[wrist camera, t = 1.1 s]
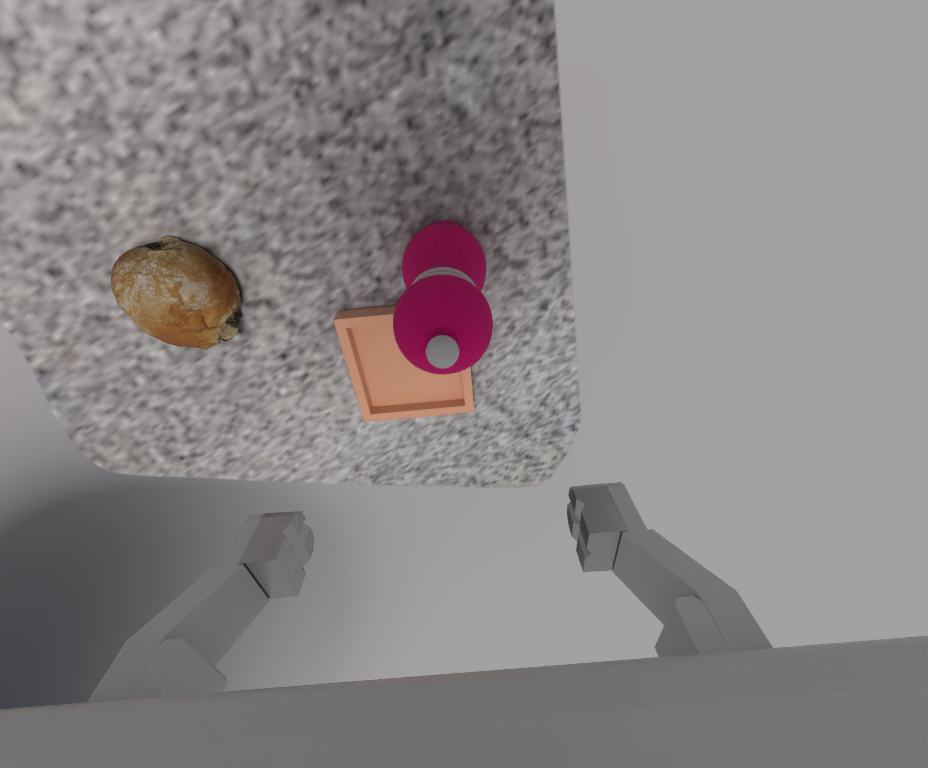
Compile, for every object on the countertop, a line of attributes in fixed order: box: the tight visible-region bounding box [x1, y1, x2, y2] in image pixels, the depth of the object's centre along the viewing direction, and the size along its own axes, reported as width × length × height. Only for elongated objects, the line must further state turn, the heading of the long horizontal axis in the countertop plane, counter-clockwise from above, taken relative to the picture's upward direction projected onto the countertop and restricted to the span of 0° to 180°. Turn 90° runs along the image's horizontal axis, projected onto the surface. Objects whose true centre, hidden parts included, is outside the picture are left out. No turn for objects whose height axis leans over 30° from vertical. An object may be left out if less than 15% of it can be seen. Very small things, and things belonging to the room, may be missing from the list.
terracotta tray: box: [333, 306, 474, 422], centre depth 41 cm, size 13×13×2 cm
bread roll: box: [111, 236, 242, 350], centre depth 35 cm, size 10×10×8 cm
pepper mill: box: [393, 221, 493, 374], centre depth 27 cm, size 7×7×20 cm
